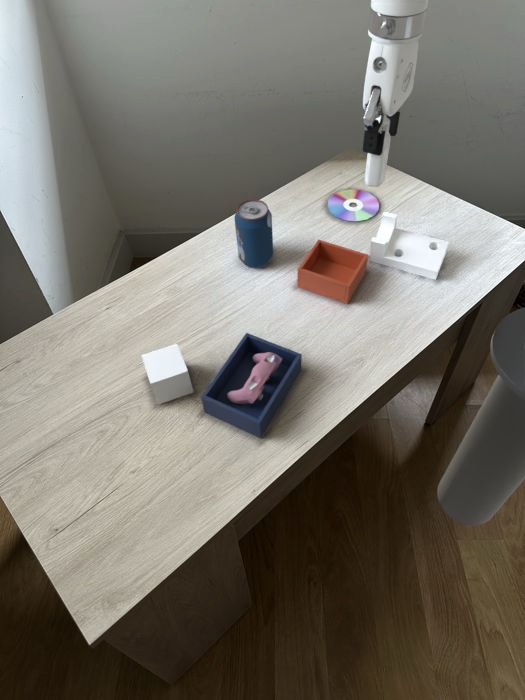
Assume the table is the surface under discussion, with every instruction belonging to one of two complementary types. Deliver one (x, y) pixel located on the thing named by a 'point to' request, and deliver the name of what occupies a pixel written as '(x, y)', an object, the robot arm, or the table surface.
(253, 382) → the video game controller
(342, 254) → the terracotta bin
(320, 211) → the table surface
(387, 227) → the bracket
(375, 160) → the eye dropper bottle
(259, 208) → the soda can
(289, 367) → the navy bin
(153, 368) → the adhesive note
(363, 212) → the cd
